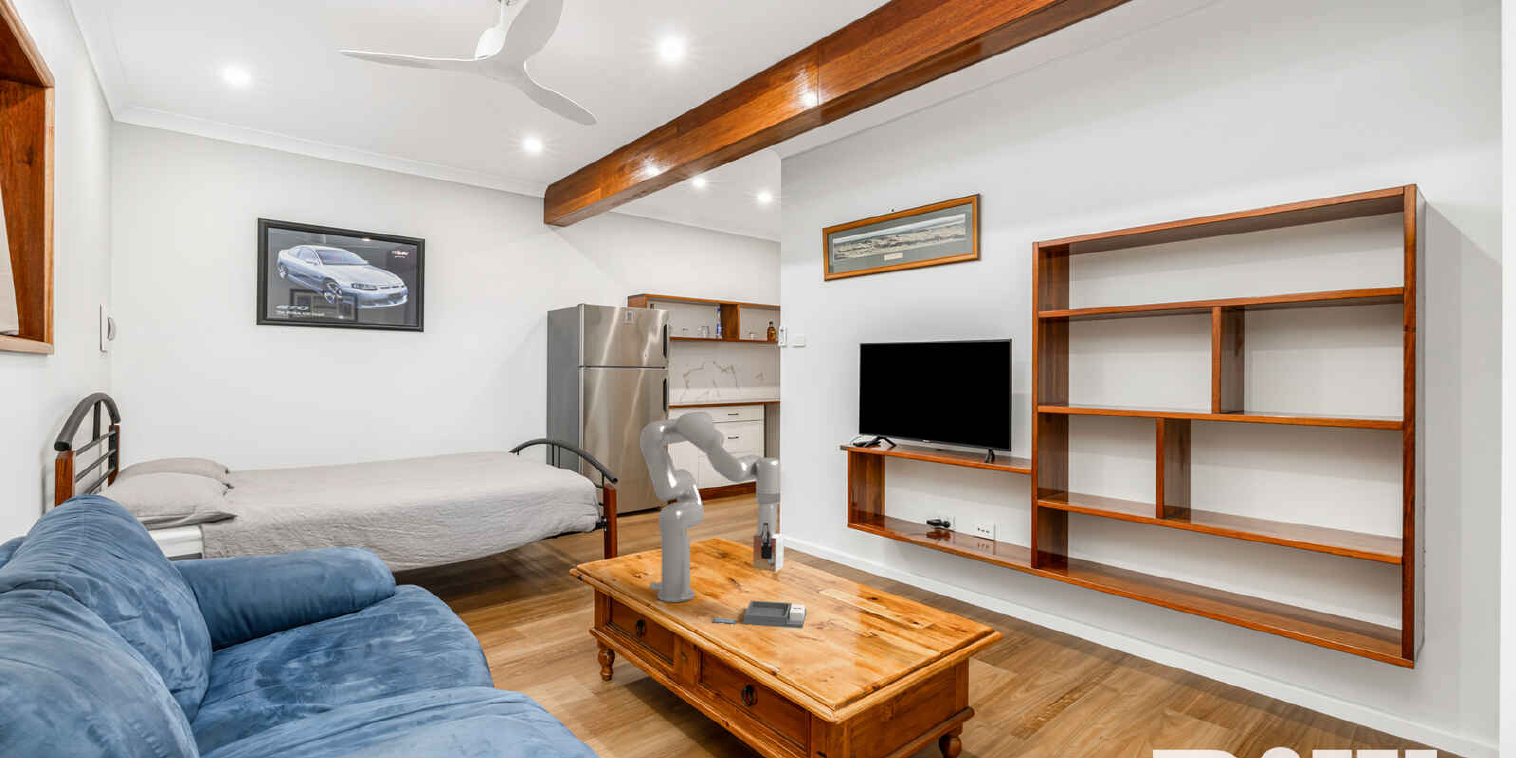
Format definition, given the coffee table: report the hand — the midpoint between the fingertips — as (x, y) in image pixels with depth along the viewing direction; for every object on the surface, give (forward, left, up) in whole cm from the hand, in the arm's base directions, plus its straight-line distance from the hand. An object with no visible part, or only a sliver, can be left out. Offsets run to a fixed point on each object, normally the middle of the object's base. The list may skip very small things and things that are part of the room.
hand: (768, 554), depth 210 cm
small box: (0, 0, -4) cm, 4 cm away
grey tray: (+2, 0, -20) cm, 20 cm away
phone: (-13, -5, -20) cm, 25 cm away
